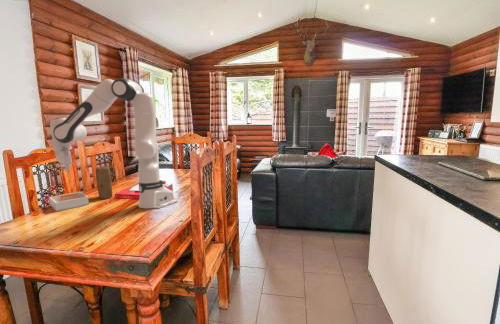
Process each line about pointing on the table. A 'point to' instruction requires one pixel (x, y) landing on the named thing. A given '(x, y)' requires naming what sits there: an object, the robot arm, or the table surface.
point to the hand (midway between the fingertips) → (65, 170)
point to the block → (104, 182)
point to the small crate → (68, 197)
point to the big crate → (69, 202)
